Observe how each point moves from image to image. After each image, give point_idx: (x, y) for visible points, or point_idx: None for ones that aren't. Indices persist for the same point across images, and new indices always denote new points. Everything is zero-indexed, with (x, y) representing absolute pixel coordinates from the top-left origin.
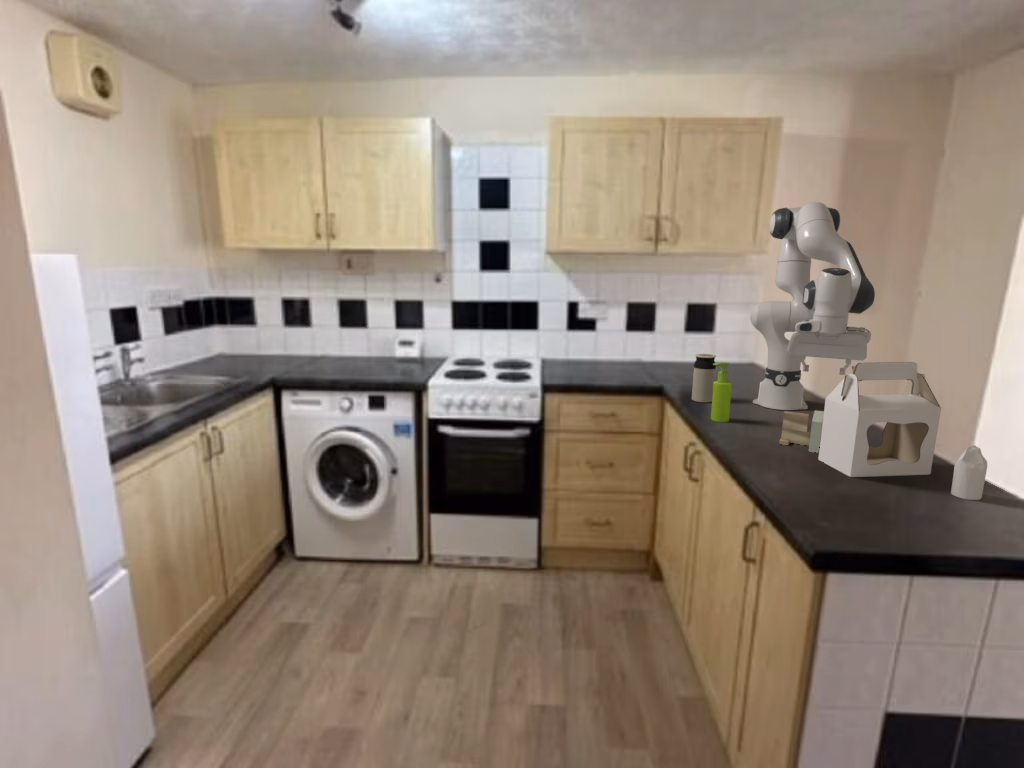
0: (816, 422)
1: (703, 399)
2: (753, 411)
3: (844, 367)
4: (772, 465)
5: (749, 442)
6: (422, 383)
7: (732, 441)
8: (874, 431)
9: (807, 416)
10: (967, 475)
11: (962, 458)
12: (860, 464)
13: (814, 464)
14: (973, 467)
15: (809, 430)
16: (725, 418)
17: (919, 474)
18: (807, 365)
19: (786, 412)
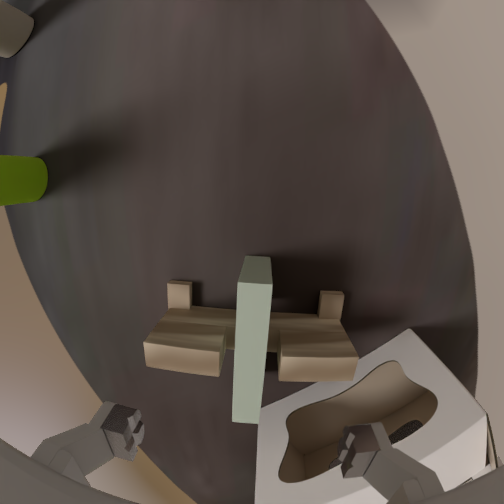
0: (244, 421)
1: (11, 52)
2: (100, 40)
3: (370, 484)
4: (187, 449)
5: (117, 349)
6: None
7: (91, 352)
8: (407, 96)
9: (216, 375)
10: None
11: None
12: (318, 466)
13: (251, 430)
14: None
15: (233, 330)
16: (37, 194)
17: (414, 401)
18: (118, 447)
19: (151, 354)
